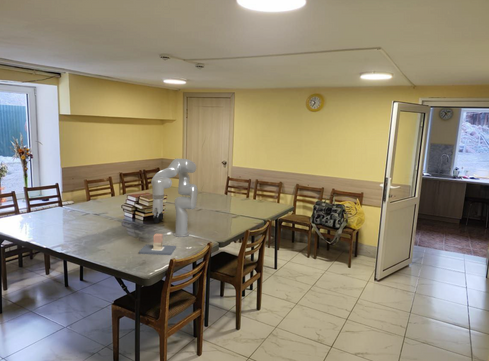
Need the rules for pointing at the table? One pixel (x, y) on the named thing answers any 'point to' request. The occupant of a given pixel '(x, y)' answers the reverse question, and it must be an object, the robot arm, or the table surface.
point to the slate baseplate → (164, 251)
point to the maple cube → (157, 246)
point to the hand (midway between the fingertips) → (158, 221)
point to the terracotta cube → (157, 238)
